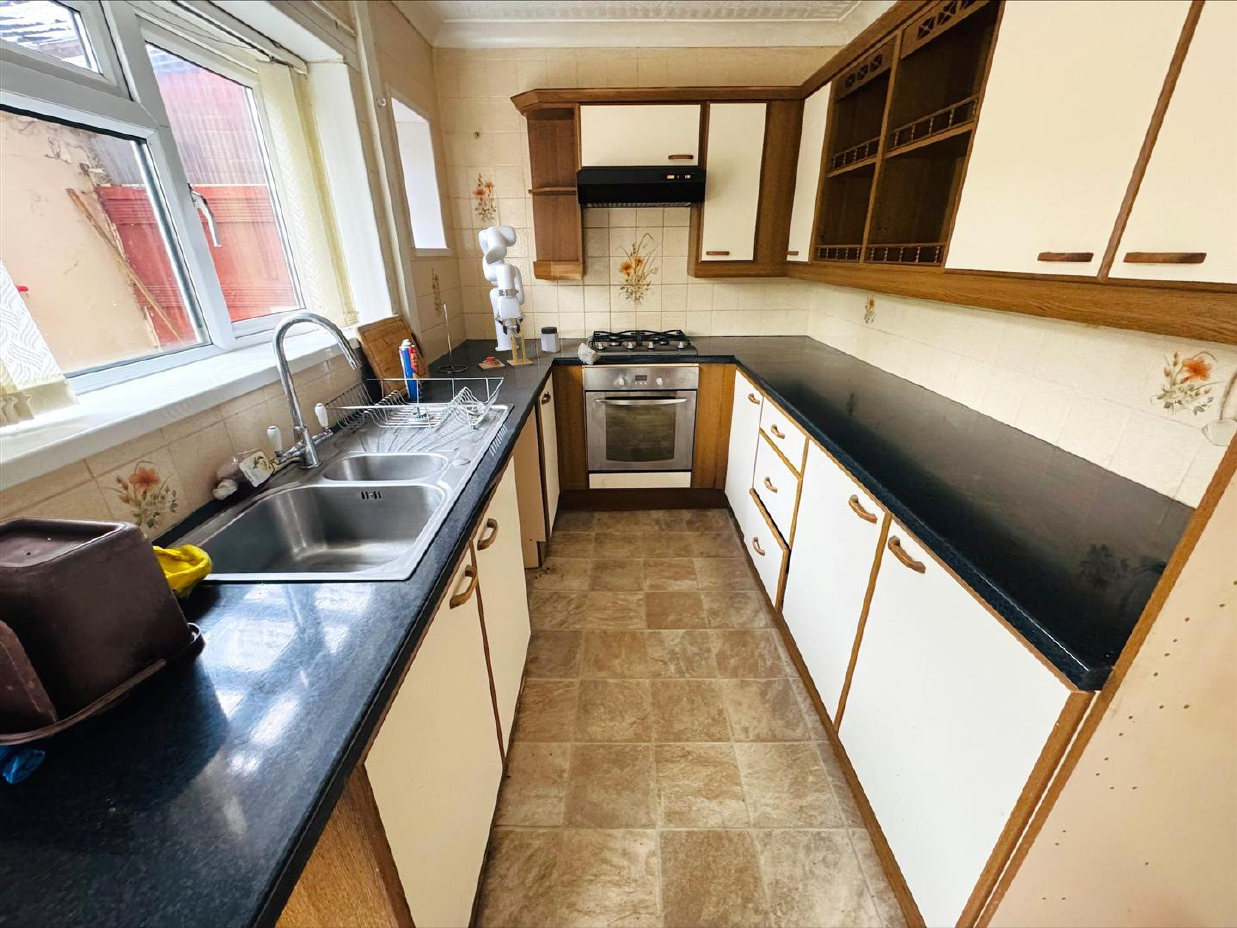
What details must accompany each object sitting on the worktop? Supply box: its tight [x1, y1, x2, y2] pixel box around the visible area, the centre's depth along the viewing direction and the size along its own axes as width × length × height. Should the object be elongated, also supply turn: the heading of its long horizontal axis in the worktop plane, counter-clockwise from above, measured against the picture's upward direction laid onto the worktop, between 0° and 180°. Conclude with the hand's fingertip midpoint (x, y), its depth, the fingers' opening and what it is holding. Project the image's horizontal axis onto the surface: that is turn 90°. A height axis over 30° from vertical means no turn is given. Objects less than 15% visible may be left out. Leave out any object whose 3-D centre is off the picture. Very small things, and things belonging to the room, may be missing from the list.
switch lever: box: [507, 325, 520, 343], centre depth 235 cm, size 12×5×2 cm, turn 26°
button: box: [485, 356, 496, 362], centre depth 232 cm, size 4×4×2 cm
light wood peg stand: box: [506, 332, 535, 367], centre depth 235 cm, size 12×10×14 cm
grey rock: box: [577, 342, 601, 366], centre depth 232 cm, size 15×7×15 cm
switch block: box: [478, 358, 506, 370], centre depth 233 cm, size 12×10×3 cm
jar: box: [540, 326, 560, 354], centre depth 261 cm, size 9×8×12 cm
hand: (512, 333), depth 240 cm, fingers closed on switch lever, 5 cm apart
